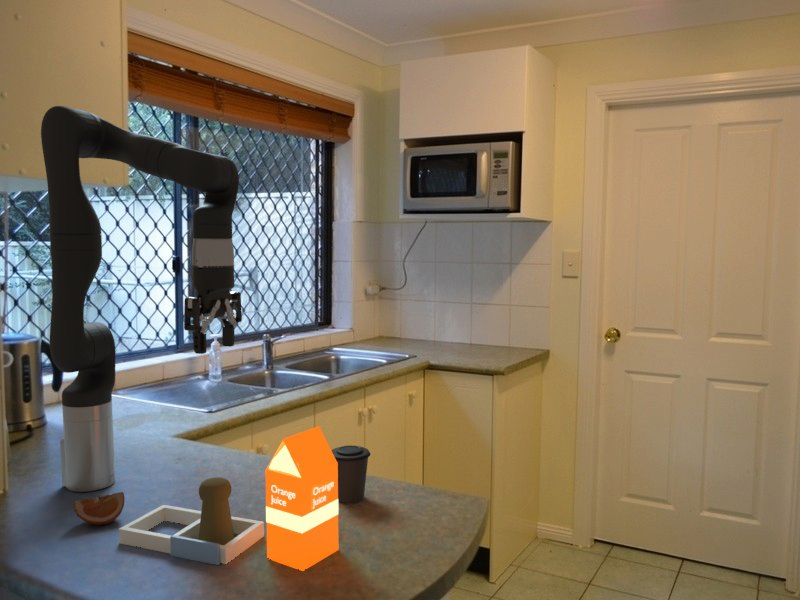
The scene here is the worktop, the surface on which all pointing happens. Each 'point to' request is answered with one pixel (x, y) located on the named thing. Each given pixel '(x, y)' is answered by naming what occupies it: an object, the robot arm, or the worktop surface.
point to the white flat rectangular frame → (189, 535)
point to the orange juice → (302, 501)
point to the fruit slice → (100, 508)
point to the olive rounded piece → (215, 511)
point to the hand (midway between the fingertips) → (214, 349)
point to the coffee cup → (351, 472)
